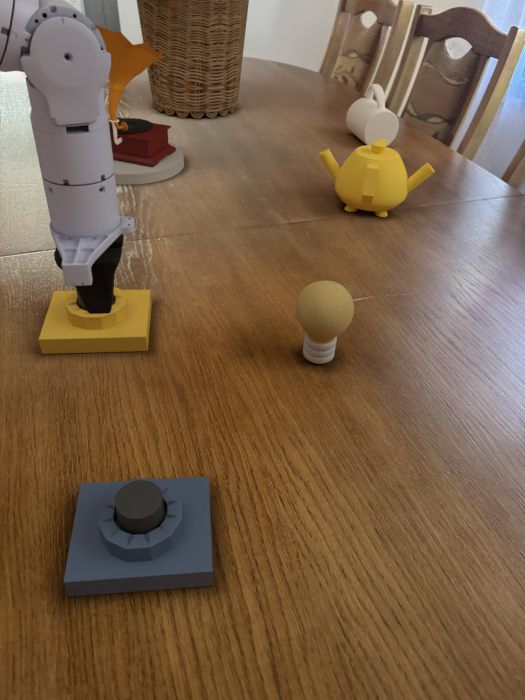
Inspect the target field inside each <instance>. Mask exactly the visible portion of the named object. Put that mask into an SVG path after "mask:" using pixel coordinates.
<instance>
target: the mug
mask: <svg viewBox="0 0 525 700" xmlns="http://www.w3.org/2000/svg"><path fill="white" fill-rule="evenodd" d="M374 96H375V99H376V100H375V99H373V98H374ZM345 123H346V127H347V128H348V130H349V131H350V132H351V133H352V134H353V135H354V136H355V137H357V138H358V140H360V141H361V142H362V143H364V144H365V145H371V143H372V142H374V141H377V140H378V139H385V140H388V141H387V147H388V146H389V145H391V144H392V143H393V141H394V140H395V139H396V137H397V135H398V132H399V127H400V125H399V123H400V122H399V119H398V117H397V115H396V114H395V113H394V112H392V110H390V109H388V108H387V107H386V98H385V92H384V89H383V87H382V86H381V85H380V84H378V83H371V84H370V85H369V86H368V88H367V89H366V94H365V97H361V98H359V99H356V100H355V101H354V102H353V103H352V104H351V105H350V106H349V108H348V109H347V113H346V116H345Z"/></svg>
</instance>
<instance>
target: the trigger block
mask: <svg viewBox="0 0 525 700" xmlns="http://www.w3.org/2000/svg"><path fill="white" fill-rule="evenodd" d="M151 293H152V290H151V289H121V288H119V287H116V286H114V293H113V300H114V302H113V305H112V308H111V312H110V313H105V314H89V313H88V311H85V310H82V309H81V308H80V307H79V302H78V297H77V292H76V290H54V291H53V294H52V297H51V300H50V303H49V306H48V309H47V311H46V315H45V318H44V320H43V324H42V327H41V331H40V333H39V336H38V340H37V341H38V345H39V348H40V351H41V354H42V355H56V354H57V355H58V354H84V353H85V354H86V353H87V354H88V353H89V354H91V353H92V354H93V353H123V352H124V353H125V352H127V353H128V352H148V351H149V341H150V328H151V317H152V305H153V302H152V294H151Z"/></svg>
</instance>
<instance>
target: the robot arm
mask: <svg viewBox="0 0 525 700" xmlns="http://www.w3.org/2000/svg"><path fill="white" fill-rule="evenodd" d="M95 25H96V24H94V22H93V21H92V20H91V19H90V18H89V17H87V15H85V14H84V13H82V12H81V11H80V10H78V9H77V8H76V7H75V6H74V5H73V4H71V3H69V2H68V1H66V0H0V72H2V73H11V72H21V73H24V75H25V76H26V77H25V84H26V89H27V93H28V99H29V103H30V114H29V120H30V124H31V129H32V134H33V139H34V144H35V145H34V146H35V150H36V155H37V158H38V163H39V169H40V173H41V174H40V175H41V179H42V184H43V185H42V186H43V189H44V195H45V198H46V205H47V209H48V214H49V218H50V222H49V232H50V236H51V237H52V240H53V242H54V245H55V249H54V253H53V257H54V261H55V264H56V266H57V267H58V268H59V269H60V270H61V271H62V274H63V278H64V279H63V280H64V285H65V286H66V287H75V289H76V290H77V291H78V293H79V295H80V297H81V299H82V301H83V303H84V305H85V307H86V309H87V311H88V313H89V314H105V313H110V312H111V308H112V302H113V293H114V287H115V273H116V271H117V269H118V267H119V264H120V261H121V259H122V254H123V247H124V241H125V236H124V235H129V234H132V233H134V232H135V226H136V225H135V218H134V217H132V216H124V215H123V216H122V215H121V214H120V207H119V206H120V205H119V200H118V199H119V198H118V191H117V184H116V181H115V172H114V162H113V154H112V145H111V137H110V128H109V120H108V118H109V113H108V112H107V110H106V102H105V90H104V86H105V84H106V83H107V81H108V80H109V73H110V68H111V54H110V53H108V52H107V51H106V47H105V43H104V40H103V38H102V36H101V34H100V32H99V30H98V29H97V28H96V27H95Z"/></svg>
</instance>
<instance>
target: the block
mask: <svg viewBox="0 0 525 700" xmlns="http://www.w3.org/2000/svg"><path fill="white" fill-rule="evenodd" d="M137 480H146V481H150V482H153V483H154V484H156V485H157V486H158V487H159V488H160V490H161V492H162V497H163V506H164V516H163V519H162V521H161V523H160V524H159V525H158V526H157V527H156V528H155V529H153V530H152V531H150V532H147V533H144V534H132V533H129V532H127V531H125V530H124V529H123V528H122V527H121V526H120V524H119V522H118V518H117V512H116V507H115V498H116V495H117V493H118V492H119V490H120V489H121V488H122V487H123V486H125V485H126V484H128V483H130V482H133V481H137ZM210 494H211V493H210V476H191V477H174V478H172V477H171V478H155V477H144V478H143V477H142V478H132V479H130V480H119V481H118V480H117V481H102V482H99V481H98V482H84V483H83V482H82V483H80V485H79V491H78V496H77V501H76V508H75V513H74V519H73V524H72V530H71V534H70V535H71V536H70V540H69V547H68V553H67V558H66V564H65V570H64V575H63V579H62V580H63V581H62V584H63V586H64V589H65V592H66V595H67V597H68V598H75V597H86V596H98V595H112V594H125V593H127V594H128V593H139V592H150V591H152V592H153V591H164V590H177V589H178V590H179V589H190V588H191V589H192V588H204V587H213V586H214V567H213V566H214V565H213V545H212V543H213V541H212V521H211V520H212V517H211V495H210Z"/></svg>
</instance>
